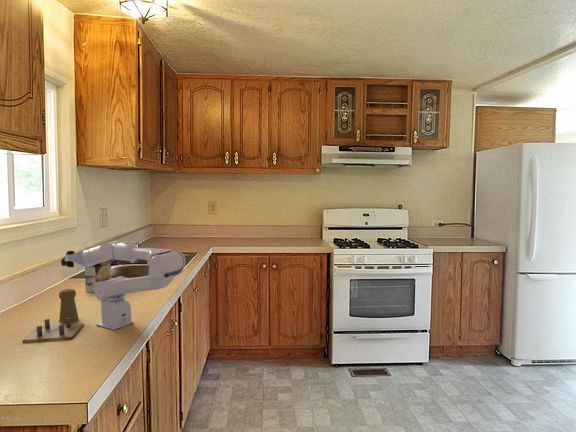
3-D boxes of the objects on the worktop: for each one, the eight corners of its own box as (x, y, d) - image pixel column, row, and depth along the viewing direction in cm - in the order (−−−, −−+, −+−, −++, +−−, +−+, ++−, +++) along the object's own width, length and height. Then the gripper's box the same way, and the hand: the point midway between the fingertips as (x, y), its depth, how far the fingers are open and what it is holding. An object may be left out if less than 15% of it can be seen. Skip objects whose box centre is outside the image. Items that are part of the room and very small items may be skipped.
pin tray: (83, 325, 140) (83, 314, 139) (72, 339, 128) (71, 327, 128) (38, 328, 137) (37, 317, 137) (22, 342, 125) (21, 330, 125)
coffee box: (97, 293, 179) (95, 256, 178) (85, 292, 181) (83, 255, 180) (111, 287, 188) (110, 252, 187) (100, 286, 190) (98, 252, 188)
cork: (74, 316, 149) (72, 286, 148) (81, 319, 146) (80, 289, 144) (56, 320, 145) (54, 289, 144) (63, 324, 141) (61, 292, 140)
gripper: (113, 245, 150) (90, 252, 156) (75, 243, 137) (52, 251, 144) (114, 264, 148) (91, 271, 155) (75, 264, 136) (52, 271, 143)
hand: (72, 262), depth 149 cm, fingers open, 7 cm apart
